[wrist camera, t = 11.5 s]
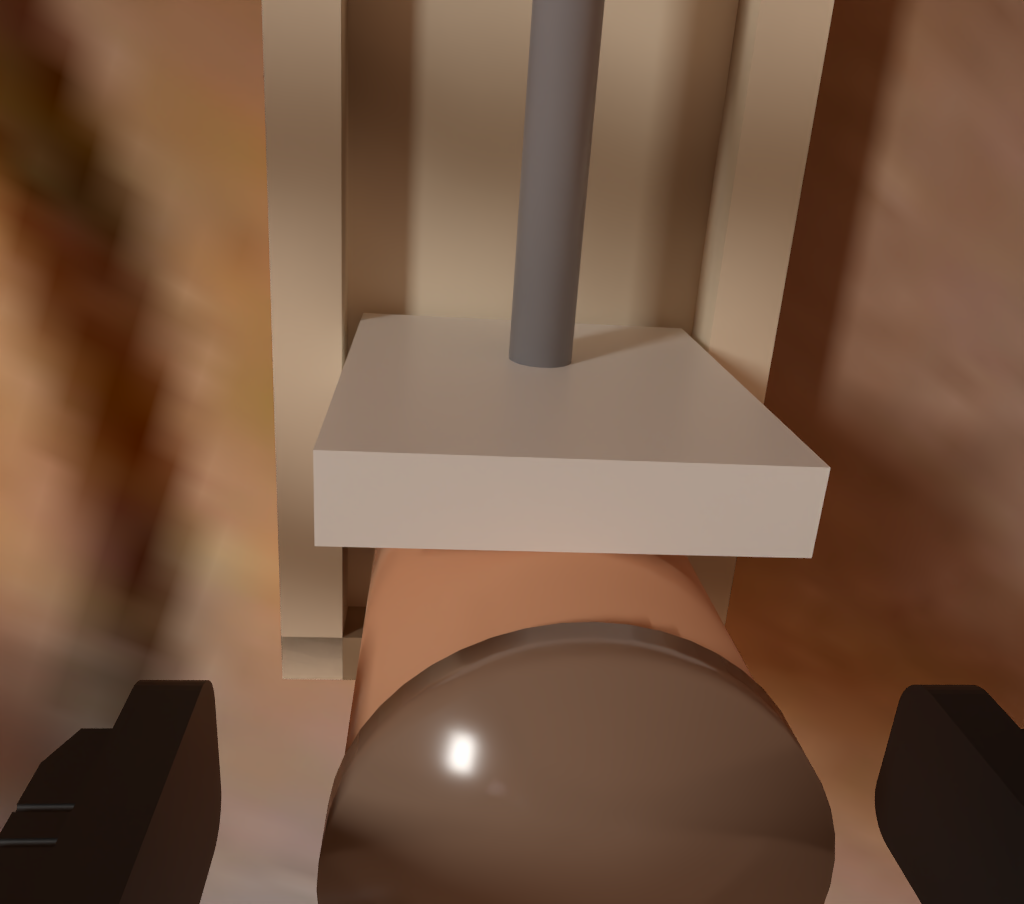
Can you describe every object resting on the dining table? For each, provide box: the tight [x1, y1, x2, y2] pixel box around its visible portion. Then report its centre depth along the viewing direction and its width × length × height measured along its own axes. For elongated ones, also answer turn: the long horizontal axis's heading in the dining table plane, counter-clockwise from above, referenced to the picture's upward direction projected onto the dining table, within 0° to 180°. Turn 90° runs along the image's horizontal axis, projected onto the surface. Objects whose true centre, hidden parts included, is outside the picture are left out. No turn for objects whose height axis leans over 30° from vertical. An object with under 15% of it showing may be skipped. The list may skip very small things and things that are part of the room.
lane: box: [262, 0, 834, 680], centre depth 12 cm, size 22×9×10 cm, turn 176°
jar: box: [317, 548, 835, 904], centre depth 14 cm, size 5×5×10 cm
